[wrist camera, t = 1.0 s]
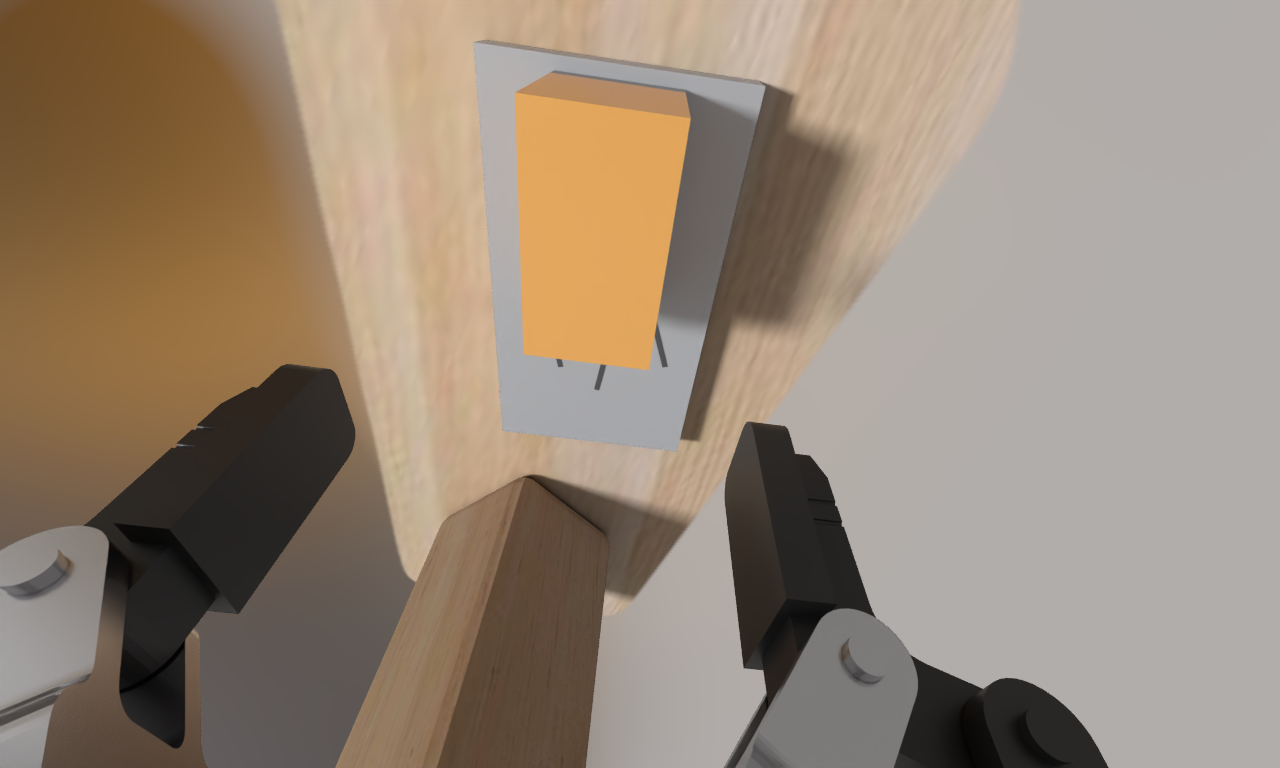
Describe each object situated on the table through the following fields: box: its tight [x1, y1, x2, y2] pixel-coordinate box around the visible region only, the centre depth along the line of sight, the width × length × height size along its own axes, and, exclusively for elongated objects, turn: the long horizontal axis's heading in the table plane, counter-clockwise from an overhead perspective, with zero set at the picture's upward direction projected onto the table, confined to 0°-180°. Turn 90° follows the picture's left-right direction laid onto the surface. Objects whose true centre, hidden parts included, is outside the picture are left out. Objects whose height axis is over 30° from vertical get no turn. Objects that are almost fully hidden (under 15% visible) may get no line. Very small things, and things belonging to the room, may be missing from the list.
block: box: [336, 477, 610, 768], centre depth 31 cm, size 10×10×20 cm
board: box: [473, 40, 766, 452], centre depth 25 cm, size 20×11×2 cm, turn 173°
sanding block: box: [515, 70, 691, 370], centre depth 19 cm, size 9×5×6 cm, turn 173°
